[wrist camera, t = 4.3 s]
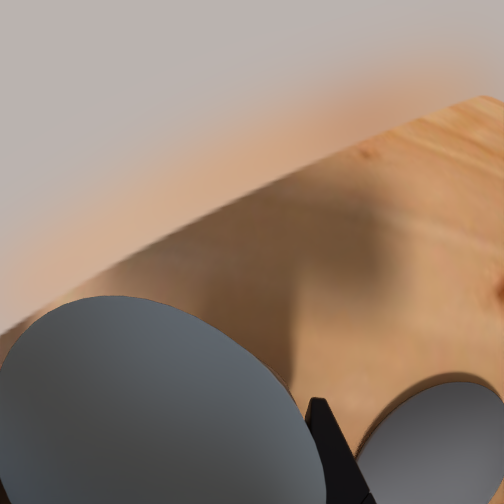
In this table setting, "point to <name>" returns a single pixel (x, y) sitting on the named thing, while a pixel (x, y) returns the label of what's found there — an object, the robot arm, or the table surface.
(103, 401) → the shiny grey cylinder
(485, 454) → the felt mat
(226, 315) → the table surface
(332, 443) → the robot arm
